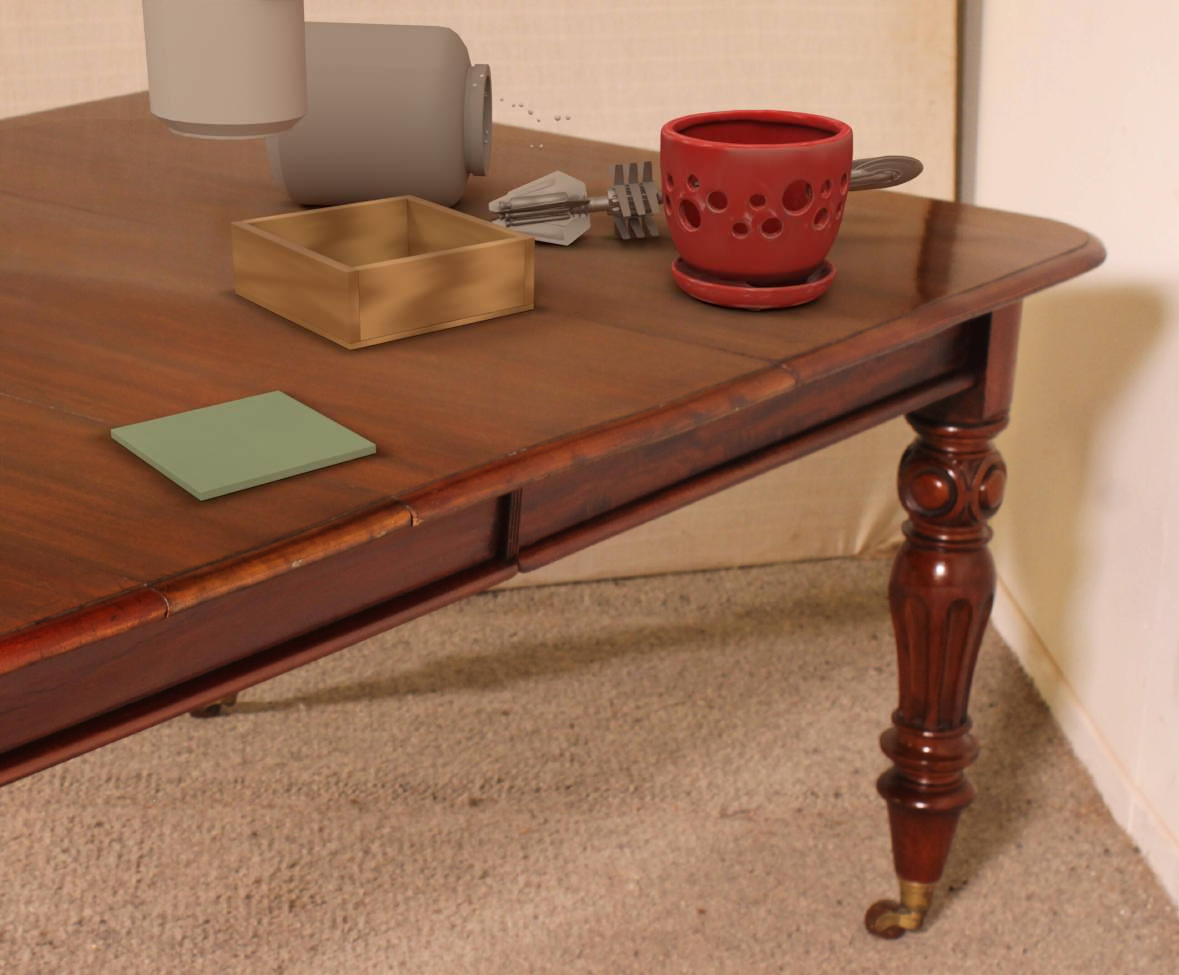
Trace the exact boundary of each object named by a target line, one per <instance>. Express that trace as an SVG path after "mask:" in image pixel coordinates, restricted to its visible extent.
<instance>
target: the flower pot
mask: <svg viewBox="0 0 1179 975" xmlns="http://www.w3.org/2000/svg"><path fill="white" fill-rule="evenodd" d="M659 141H660V142H659V170H660V179H661V181H660V182H661V190H662V198H663V204H662V206H663V211H664V216H665V220H666V224H667V228H668V230H669V234H670V237H671V239H672V242H673V244H674V246H675V248H676V250H677V252H678V254H679V255H678V256H676V257H675V258H674V259H673V261H672V263H671V265H670V272H671V273H670V274H671V277H672V278H673V280H674V282H675V283H676V285H677V286H678V287H679V288H680V289H681V290H682V291H683V292H685V293H686V294H687V295H688V296H690V297H693V298H695V299H696V300H699V301H702V302H703V303H704V302H705V303H708V304H712V305H717V306H722V307H728V308H736V309H746V310H747V311H751V312H759V311H761V310H769V309H770V310H771V309H782V308H791V307H795V306H800V305H803V304H806V303H809V302H811V301H813V300H815V299H817V298H819V297H820V296H822V295H823V294H824V293H825V292H827V291H828V289H829V288H830V287H831V286H832V285H833V283H834V281H835V279H836V277H837V276H836V275H837V269H836V267H835V265H834V264H833V263H832V262H831V261H829V260H828V259H827V258H826V257H827V256H828V254H829V252H830V250H831V249H832V247H833V245H834V243H835V240H836V238H837V236H838V234H839V231H840V228H841V225H842V221H843V217H844V212H845V207H846V202H847V197H848V194H849V191H848V190H849V185H850V179H851V171H852V161H853V159H854V131H853V128H852V127H851V126H850V125H849V124H847V123H846V122H844V121H842V120H840V119H836V118H833V117H830V116H826V115H820V114H815V113H808V112H801V111H800V112H799V111H792V110H779V109H732V110H731V109H730V110H717V111H709V112H708V111H707V112H700V113H693V114H688V115H683V116H680V117H678V118H677V117H676V118H673V119H671V120H669V121H667V122H666V123H664V124H663V125H662V126H661V129H660V140H659ZM697 180H698V182H699V188H698V189H696V188H695V183H696V181H697ZM809 190H810V192H809Z"/></svg>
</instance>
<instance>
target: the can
mask: <svg viewBox="0 0 1179 975" xmlns="http://www.w3.org/2000/svg"><path fill="white" fill-rule="evenodd" d="M141 6H142V7H141V8H142V19H143V33H144V44H145V57H146V69H147V83H148V94H149V95H148V96H149V107H150V108H149V109H150V113H151V114H152V115H153V116H155V117H156V118H157V119H158V120H160V121H161V122H162V123H163V124H164V125H165V126H166V127H167V129H168V131H170V132H171V133H172V134H174V135H178V136H183V137H185V138H191V139H200V140H213V141H248V140H250V141H251V140H261V139H262V140H263V139H265V138H269V137H276V136H279V135H283V134H287V133H288V132H290V131H292V130H293V126H294V125H295V124H296V123H297V122H298V121H299V120H300V119H302V118H303V117H304V116H305V115H306V114H307V113H308V105H307V77H306V50H305V23H304V22H305V0H141Z"/></svg>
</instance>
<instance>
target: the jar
mask: <svg viewBox="0 0 1179 975" xmlns="http://www.w3.org/2000/svg"><path fill="white" fill-rule="evenodd" d="M304 23H305V50H306V77H307V105H308V113H307V114H306V115H305V116H304V117H303V118H302V119H300V120H299V121H298V122H297V123H296V124H295V125H294V126H293V130H292V131H290V132H288V133H287V134H283V135H279V136H276V137H269V138H264V139H265V146H266V148H265V149H266V155H267V159H268V163H269V164H268V165H269V169H270V172H271V174H272V177H273V179H274V181H275V183H276V185H277V186H278V189H280V191H281V193H282V194H283V195H284V196H285V197H286V198H287V199H288V200H290V201H291V202H293V203H294V204H300V205H306V206H307V205H308V206H310V205H311V206H332V207H334V206H341V205H347V204H354V203H360V202H367V201H373V200H380V199H386V198H393V197H399V196H406V195H412V196H415V197H418V198H421V199H424V200H427V201H429V202H432V203H435V204H438V205H441V206H444V207H447V208H451V207H452V206H454V205H456V204H457V203H458V202H459V200H460V199H461V197H462V196H463V195H464V193H465V192H466V189H467V185H468V182H469V178H470V176H471V174H472V176H473V177H488V175H489V170H490V163H491V152H492V139H493V137H492V136H493V135H492V134H493V85H492V84H493V83H492V74H491V67H490V65H489V63H475V64H474V65H472V63H471V58H470V54H469V50H468V46H467V45H466V44H465V42H464V41H463V39H462V38H461V36H460V34H458V33H457V32H455V31H454V30H453V29H451V27H447V26H440V25H421V24H420V25H415V24H393V23H392V24H391V23H388V24H386V23H361V22H360V23H359V22H333V21H332V22H330V21H329V22H328V21H304ZM500 101H501V102H504V98H503V97H500ZM518 106H519V107H520V108H524V103H523V102H519V104H518ZM511 107H512V108H515V107H516V104H515V103H512V104H511ZM527 113H528V115H531V116H532V115H533V114H534V109H528V111H527ZM561 119H562V117H561V114H558V113H557V114H555V115H554V120H555V121H557V122H559V121H560V120H561ZM565 120H566V121H569V120H571V115H570V114H566V115H565ZM536 121H537V123H540V122H541V119H540V118H537V119H536ZM529 148H531V149H534V145H533V144H530V146H529ZM538 148H539V150H540V149H543V148H544V145H543V144H539V145H538Z"/></svg>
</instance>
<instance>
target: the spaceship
mask: <svg viewBox="0 0 1179 975" xmlns="http://www.w3.org/2000/svg"><path fill="white" fill-rule="evenodd" d="M607 170H608V174H609V175H610V178H611V181H612V183H611V184H609V185H610V187H608V188H606V190H605V195H601V196H600V195H599V196H588V192H587V185H586V183H585V182H583V181H582V180H579V179H577V178H575V177H573V176H571V175H569V174H567V173H565V172H562V171H560V170H556V171H553V172H551V173H548V174H546V175H544V176H542V177H540V178H537V179H535V180H532V181H531V182H528V183H526V184H523V185H521V186H519V187H516V188H514V189H512V190H509V191H508V192H507V194H506V195H503V196H501V197H499V198H496V199H493V200H492V201H490V202H488V210H489V211H490V213H489V214H490V215H498V214H499V216H498V217H492V218H489V221H491V223H494V224H497V225H500V226H503V227H506V228H509V229H512V230H515V231H518V232H521V233H523V234H526V235H529V236H532V237H535V241H538V242H545V243H550V244H556V245H562V246H566V247H568V246H569V245H571V243H573V242H574V241H575V240H577V239H578V238H580V237H581V236H582V235H583V234H584V233H585V232H587V231H588V230H589V229H590V228H591V218H590V214H592V213H593V214H594V213H599V212H606V215H607V216H609V217H611V218H609V221H613V229H614V237H615V239H617V238H622V239H623V240H629V239H631V237H634V236H635V237H636V238H645V237H646V235H651V236H652V237H655V236H656V237H657V236H659V235H660V233H659V230H658V228H657V225H656V222H655V220H654V216H655V215H654V214H660V213H661V211H660V210H661V209H660V205H663V198H662V189H659V188H658V185H657V184H655V182H656V180H655V179H653V162H652V160H648V161H644V162H643V161H639V162H630V163H621V164H620V163H619V164H615V165H614V164H613V165H611V164H610V165H607ZM923 171H924V164H923V163H922V161H920V160H919V159H917V158H915V157H912V156H907V155H882V156H875V157H867V158H857V159H854V160H853V161H852V171H851V179H850V185H849V190H848V192H860V191H870V190H871V191H872V190H882V189H884V190H885V189H889V188H894V187H898V186H900V185H903V184H905V183H908V182H911V181H913V180H914V179H915V178H917V177H919V176H920V175H921V174H922V173H923ZM639 177H640V180H639ZM625 179H626V181H627V182H625ZM695 188H696V189H698V188H699V182H698V180H697V181H696V183H695ZM809 192H810V190H809ZM639 218H641V222H640V219H639ZM626 221H627V223H626Z"/></svg>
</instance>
